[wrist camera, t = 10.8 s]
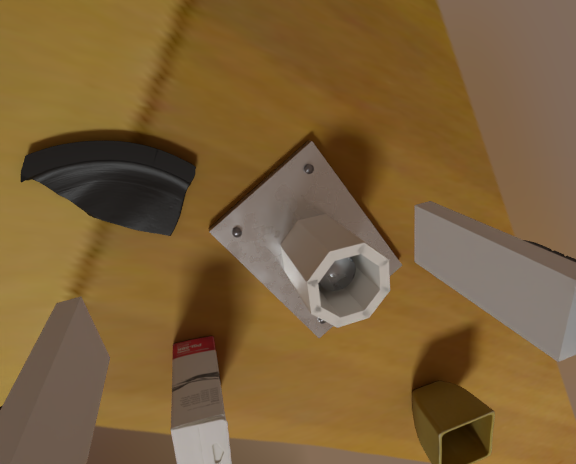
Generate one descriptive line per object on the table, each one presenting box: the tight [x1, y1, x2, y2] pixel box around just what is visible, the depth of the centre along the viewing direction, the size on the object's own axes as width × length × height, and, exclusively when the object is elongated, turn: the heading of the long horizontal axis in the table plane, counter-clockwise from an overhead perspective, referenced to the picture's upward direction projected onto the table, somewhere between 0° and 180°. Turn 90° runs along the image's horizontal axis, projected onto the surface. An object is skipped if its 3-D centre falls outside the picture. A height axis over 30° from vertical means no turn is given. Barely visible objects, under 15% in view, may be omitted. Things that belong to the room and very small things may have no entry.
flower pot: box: [412, 381, 495, 464], centre depth 52 cm, size 9×9×9 cm
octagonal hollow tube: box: [280, 214, 390, 328], centre depth 36 cm, size 8×8×9 cm
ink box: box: [171, 336, 232, 464], centre depth 37 cm, size 9×5×12 cm, turn 1°
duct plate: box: [209, 140, 402, 338], centre depth 38 cm, size 20×14×7 cm
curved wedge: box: [21, 141, 196, 236], centre depth 32 cm, size 8×14×2 cm, turn 67°
